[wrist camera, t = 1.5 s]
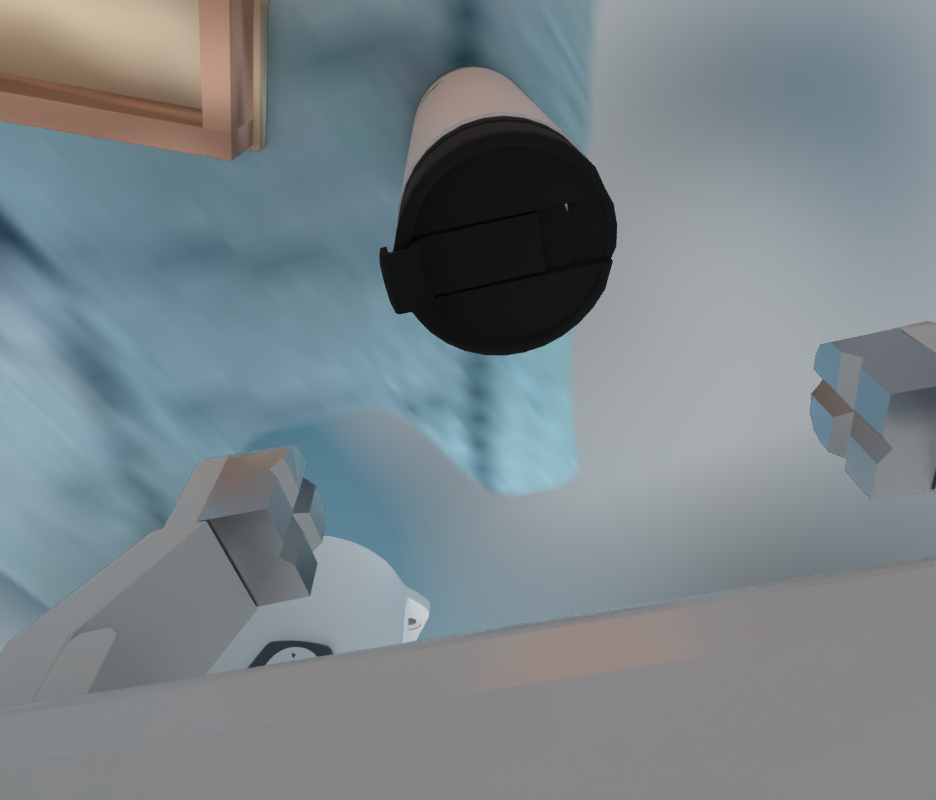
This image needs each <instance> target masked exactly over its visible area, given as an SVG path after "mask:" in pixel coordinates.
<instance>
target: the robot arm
mask: <svg viewBox="0 0 936 800" xmlns="http://www.w3.org/2000/svg"><path fill="white" fill-rule="evenodd" d="M814 370H815V371H816V372H817V373H818V374H819V376H820V377H821V378H822V379H823V380H822V381H821V383H820V384H819V385H818V386H817V388H816V389H815V390H814V391H813V392H812V394H811V405H810V414H811V419H812V423H813V428H814V431H815V433H816V435H817V437H818V439H819V441H820V442H821V443H822V444H823V446H824V447H825V448H826V449H827V451H828V452H830V453H832V454H835V455H838V456H840V457H843V458H845V459H846V467H845V471H846V473H847V474H848V475H849V476H850V477H851V478H852V480H854V482H855V483H856V484H857V485H858V486H859V488H860V489H861V490H862V491H863V492H864V493H865V494H866V496H867V497H868V498H869V499H870V500H878V499H885V498H892V497H898V496H905V495H911V494H919V493H926V492H933V491H934V494H935V495H936V323H935V322H929V321H925V322H920V323H916V324H911V325H907V326H903V327H898V328H894V329H890V330H886V331H881V332H877V333H872V334H868V335H863V336H858V337H853V338H849V339H844V340H839V341H835V342H830V343H825V344H821V345H820V346H819V349H818V351H817V353H816V356H815V364H814ZM306 465H307V464H306V462H305V460H304V458H303V456H302V454H301V452H300V450H299V448H297V447H296V446H295V445H293V444H290V445H284V446H278V447H273V448H266V449H260V450H255V451H249V452H243V453H237V454H234V455H225V456H220V457H215V458H210V459H205V460H203V461H201V462H199V463H198V464H197V466H196V468H195V469H194V471H193V473H192V475H191V477H190V479H189V481H188V483H187V484H186V486H185V488H184V490H183V492H182V494H181V496H180V497H179V499H178V501H177V503H176V505H175V507H174V509H173V511H172V512H171V514H170V516H169V518H168V520H167V522H166V524H165V525H164V527H163V529H158V530H153V531H152V532H151V533H149V534H148V535H147V536H145V537H144V538H143V539H141V540H140V541H139V542H138V543H136V544H135V545H134V546H132V547H131V548H130V549H128V550H127V551H126V552H125V553H123V554H122V555H121V556H119V557H118V558H117V559H115V560H114V561H113V562H112V563H110V564H109V565H108V566H106V567H105V568H104V569H102V570H101V571H100V572H99V573H97V574H96V575H95V576H93V577H92V578H91V579H89V580H88V581H87V582H86V583H84V584H83V585H82V586H80V587H79V588H78V589H76V590H75V591H74V592H73V593H71V594H70V595H69V596H67V597H66V598H65V599H63V600H62V601H61V602H60V603H58V604H57V605H56V606H54V607H53V608H52V609H50V610H49V611H48V612H47V613H46V614H44V615H43V616H41V617H40V618H39V619H37V620H36V621H35V622H34V623H32V624H31V625H30V626H28V627H27V628H26V629H25V630H23V631H22V632H21V633H19V634H18V635H17V636H15V637H14V638H13V639H12V640H10V641H9V642H8V643H7V644H6V645H5V647H4V648H3V650H2V652H1V653H0V800H936V556H932V557H926V558H920V559H914V560H908V561H902V562H895V563H889V564H883V565H877V566H871V567H865V568H859V569H852V570H846V571H840V572H834V573H828V574H821V575H816V576H809V577H803V578H797V579H791V580H785V581H778V582H772V583H766V584H760V585H753V586H747V587H741V588H735V589H729V590H723V591H716V592H711V593H704V594H698V595H692V596H686V597H680V598H674V599H668V600H662V601H655V602H650V603H643V604H638V605H631V606H625V607H619V608H613V609H607V610H601V611H596V612H589V613H583V614H577V615H570V616H565V617H558V618H552V619H546V620H540V621H534V622H528V623H522V624H516V625H510V626H504V627H498V628H492V629H485V630H480V631H473V632H467V633H461V634H455V635H449V636H443V637H437V638H430V639H425V640H418V641H416V640H417V638H418V636H419V635H420V632H421V631H422V629H423V627H424V625H425V623H426V621H427V619H428V617H429V614H430V606H431V604H430V602H429V600H428V599H427V598H425V597H424V596H423V595H421V594H419V593H418V592H416V591H414V590H413V589H411V588H409V587H408V586H406V585H405V584H404V583H403V581H402V580H401V579H400V578H399V576H398V575H397V573H396V572H395V571H394V570H393V568H392V567H391V566H390V565H389V564H388V563H387V562H386V561H385V560H384V559H383V558H381V557H380V556H379V555H377V554H376V553H374V552H373V551H371V550H369V549H367V548H365V547H363V546H361V545H359V544H357V543H354V542H351V541H348V540H345V539H342V538H337V537H332V536H326V535H324V531H325V517H324V508H323V504H322V500H321V497H320V494H319V492H318V490H317V487H316V485H314V484H313V483H311V482H309V481H308V480H306V479H305V478H303V476H304V472H305V469H306Z"/></svg>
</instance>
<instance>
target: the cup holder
mask: <svg viewBox="0 0 936 800" xmlns="http://www.w3.org/2000/svg"><path fill="white" fill-rule="evenodd" d="M267 26H268V0H0V121H5V122H11V123H17V124H23V125H29V126H34V127H40V128H46V129H52V130H57V131H63V132H69V133H75V134H80V135H86V136H92V137H98V138H103V139H109V140H115V141H121V142H126V143H132V144H138V145H144V146H149V147H155V148H161V149H167V150H172V151H178V152H184V153H190V154H195V155H201V156H207V157H213V158H218V159H224V160H230V161H232V160H233V159H234V158H236V157H237V156H238V155H240V154H241V153H242V152H244V151H245V150H246V149H248V150H253V151H260V150H262V149H263V148H264V147H265V146H266V103H267Z"/></svg>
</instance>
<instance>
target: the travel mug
mask: <svg viewBox="0 0 936 800" xmlns="http://www.w3.org/2000/svg"><path fill="white" fill-rule="evenodd" d="M616 234H617V222H616V216H615V210H614V204H613V202H612V200H611V198H610V196H609V195H608V193H607V191H606V189H605V187H604V185H603V183H602V180H601V178H600V176H599V174H598V172H597V169H596V167H595V166H594V165H593V164H592V163H591V162H590V161H589V160H588V159H587V158H586V157H585V156H584V154H583V153H582V151H581V150H580V148H579V147H578V146H577V145H576V144H575V143H574V142H573V141H572V140H571V139H570V138H569V137H568V136H567V135H566V134H565V133H564V132H563V131H562V130H561V129H560V128H559V127H558V126H557V125H556V124H555V123H554V122H552V121H551V120H550V119H549V118H548V117H547V116H546V115H545V114H544V113H543V112H542V111H541V110H540V109H539V108H538V107H537V106H536V105H535V104H534V103H533V102H532V101H531V100H530V99H529V98H528V97H527V96H526V95H525V94H524V93H523V92H522V91H521V90H520V89H519V88H518V87H517V86H516V85H515V84H514V83H513V82H512V81H511V80H510V79H509V78H507V77H506V76H504V75H503V74H501V73H499V72H498V71H495V70H492V69H489V68H487V67H479V66H467V67H460V68H457V69H454V70H452V71H449V72H447V73H446V74H444V75H442V76H441V77H439V78H438V79H437V80H436V81H435V82H434V83H433V84H432V85H430V87H429V88H428V89H427V91H426V92H425V94H424V95H423V96H422V98H421V101H420V103H419V105H418V107H417V111H416V115H415V119H414V124H413V129H412V135H411V140H410V145H409V151H408V156H407V162H406V167H405V173H404V178H403V184H402V189H401V194H400V200H399V207H398V226H397V231H396V238H395V244H394V249H393V252H390V253H388V251H387V247H383V248H380V254H379V255H380V267H381V271H382V275H383V279H384V283H385V287H386V290H387V293H388V296H389V299H390V302H391V304H392V306H393V308H394V310H395V312H396V313H397V314H403V313H408V312H413V313H414V315H415V316H416V317H417V319H418V320H419V321H420V322H421V323H422V324H423V325H424V326H425V327H426V328H427V329H428V330H429V331H430V332H431V333H432V334H434V335H435V336H437V337H438V338H440V339H441V340H443V341H444V342H446V343H447V344H450V345H452V346H455V347H457V348H459V349H462V350H464V351H468V352H473V353H478V354H483V355H510V354H517V353H523V352H527V351H530V350H533V349H536V348H539V347H542V346H544V345H546V344H548V343H550V342H552V341H554V340H556V339H557V338H559V337H561V336H563V335H564V334H565V333H567V332H568V331H569V330H570V329H572V328H573V327H574V326H576V325H577V324H578V323H579V322H580V321H581V320H582V319H583V318H584V317H585V316H586V314H588V313H589V311H590V310H591V309H592V308H593V307H594V306H595V304H596V302H597V301H598V299H599V298H600V296H601V295H602V293H603V292H604V290H605V287H606V284H607V280H608V277H609V273H610V269H611V265H612V262H613V261H612V259H611V257H612V255H613V252H614V250H615V248H616V239H617V235H616Z"/></svg>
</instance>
